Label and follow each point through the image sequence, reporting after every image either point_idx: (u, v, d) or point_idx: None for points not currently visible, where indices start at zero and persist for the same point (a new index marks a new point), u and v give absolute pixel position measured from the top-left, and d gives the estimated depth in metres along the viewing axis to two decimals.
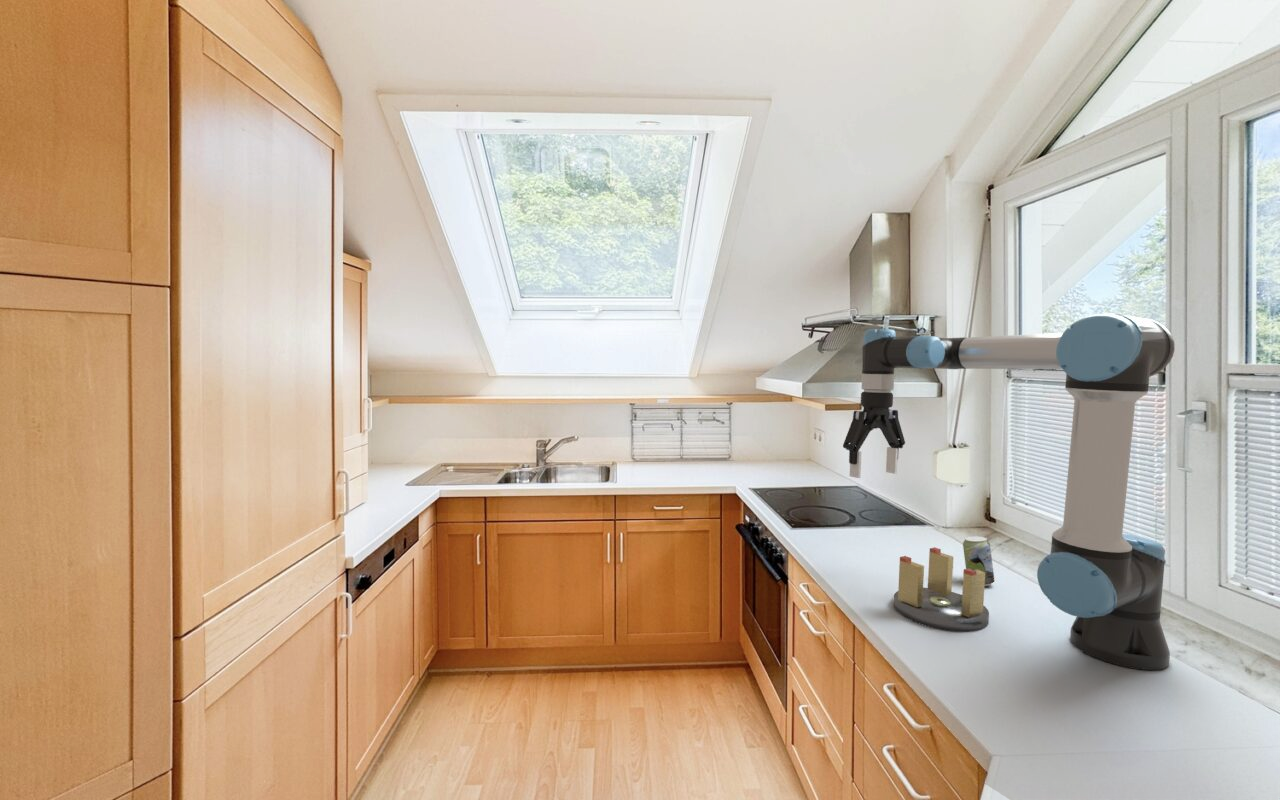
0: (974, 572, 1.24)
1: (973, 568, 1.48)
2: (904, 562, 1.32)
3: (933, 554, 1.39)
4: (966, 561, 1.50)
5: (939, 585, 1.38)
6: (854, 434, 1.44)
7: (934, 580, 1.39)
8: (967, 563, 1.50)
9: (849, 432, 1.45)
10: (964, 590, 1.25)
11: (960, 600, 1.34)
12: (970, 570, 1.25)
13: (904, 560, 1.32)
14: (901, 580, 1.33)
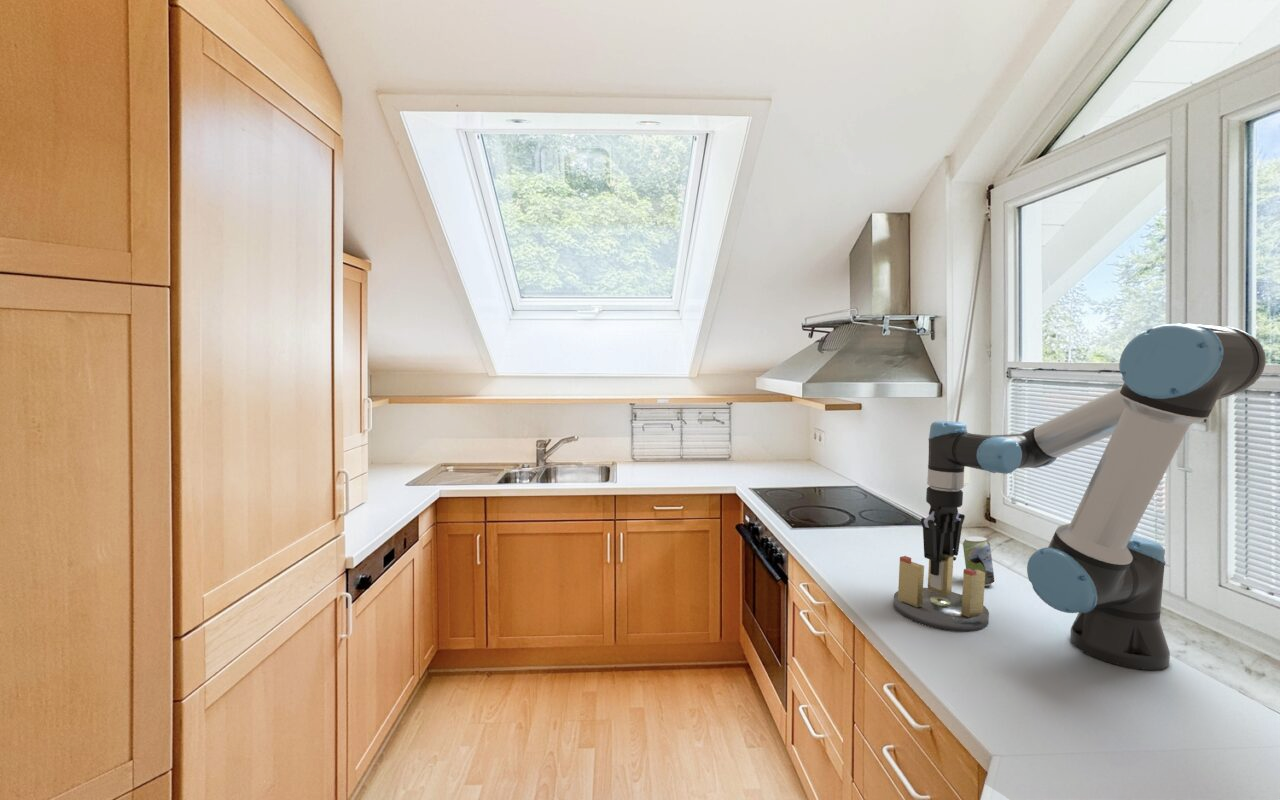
0: (974, 572, 1.24)
1: (973, 568, 1.48)
2: (904, 562, 1.32)
3: None
4: (966, 561, 1.50)
5: None
6: (932, 546, 1.35)
7: None
8: (967, 563, 1.50)
9: (925, 542, 1.36)
10: (964, 590, 1.25)
11: (960, 600, 1.34)
12: (970, 570, 1.25)
13: (904, 560, 1.32)
14: (901, 580, 1.33)
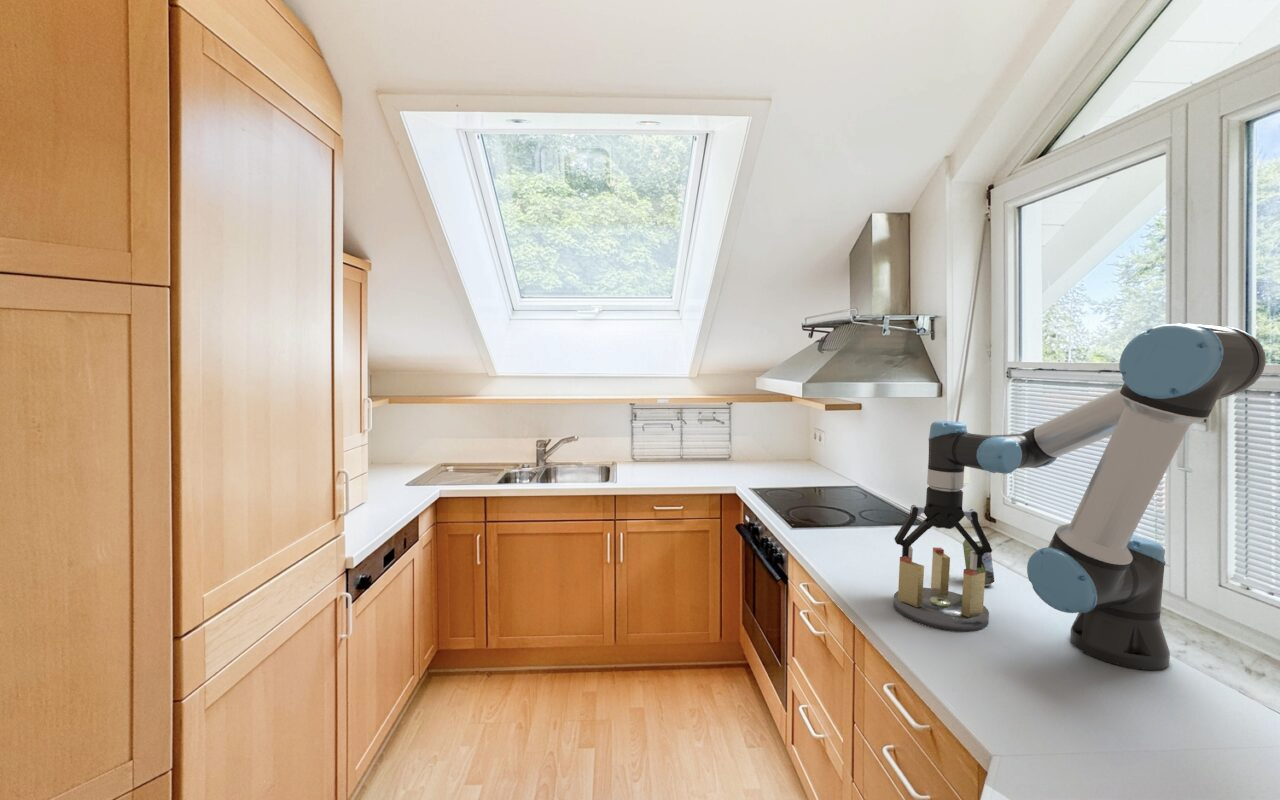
0: (974, 572, 1.24)
1: None
2: (904, 562, 1.32)
3: (934, 553, 1.40)
4: (966, 561, 1.50)
5: (936, 584, 1.38)
6: (902, 529, 1.39)
7: (934, 579, 1.39)
8: (967, 563, 1.50)
9: (902, 526, 1.41)
10: (964, 590, 1.25)
11: (960, 600, 1.34)
12: (970, 570, 1.25)
13: (904, 560, 1.32)
14: (901, 580, 1.33)
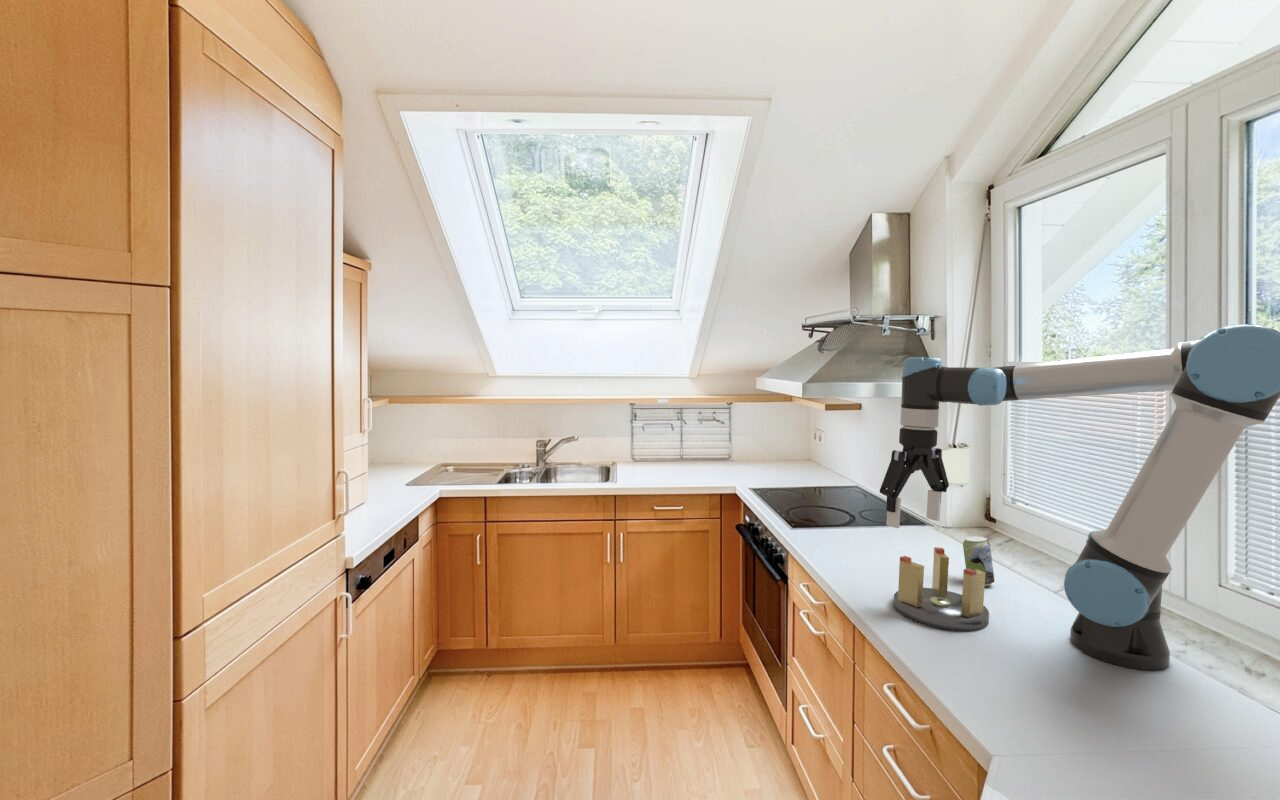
0: (974, 572, 1.24)
1: (973, 568, 1.48)
2: (904, 562, 1.32)
3: (935, 553, 1.40)
4: (966, 561, 1.50)
5: (936, 584, 1.38)
6: (893, 478, 1.25)
7: (934, 579, 1.39)
8: (967, 563, 1.50)
9: (887, 475, 1.27)
10: (964, 590, 1.25)
11: (960, 600, 1.34)
12: (970, 570, 1.25)
13: (904, 560, 1.32)
14: (901, 580, 1.33)
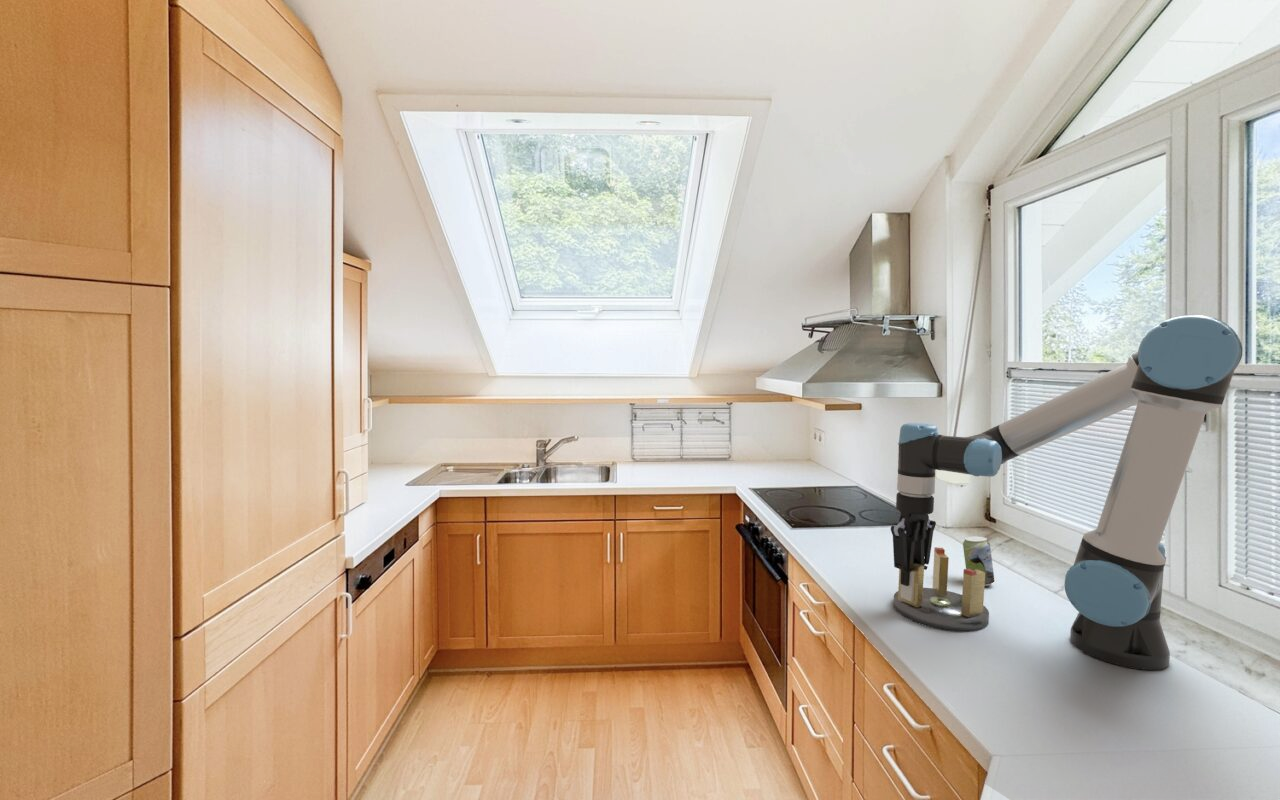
0: (974, 572, 1.24)
1: (973, 568, 1.48)
2: None
3: (935, 553, 1.40)
4: (966, 561, 1.50)
5: (936, 584, 1.38)
6: (902, 555, 1.28)
7: (934, 579, 1.39)
8: (967, 563, 1.50)
9: (895, 551, 1.29)
10: (964, 590, 1.25)
11: (960, 600, 1.34)
12: (970, 570, 1.25)
13: None
14: None
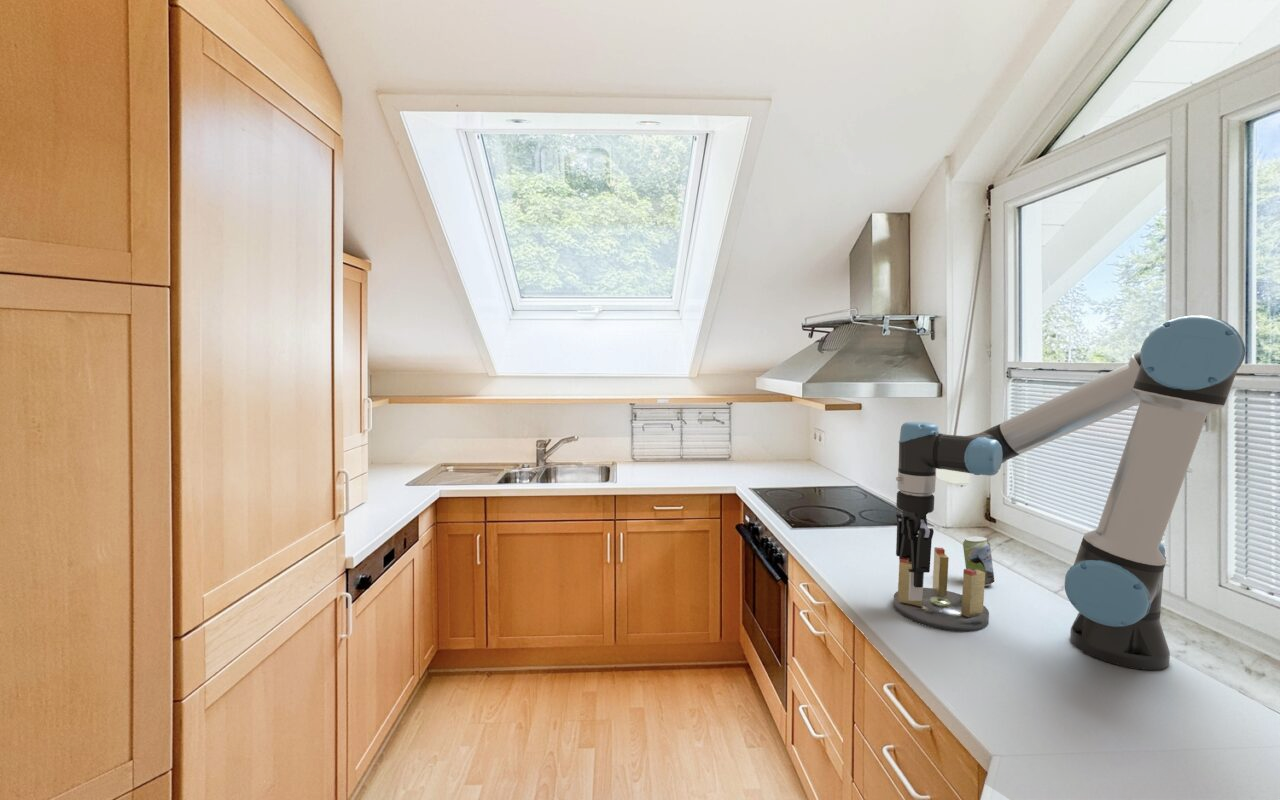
0: (974, 572, 1.24)
1: (973, 568, 1.48)
2: (905, 563, 1.31)
3: (935, 553, 1.40)
4: (966, 561, 1.50)
5: (936, 584, 1.38)
6: (929, 556, 1.25)
7: (934, 579, 1.39)
8: (967, 563, 1.50)
9: (921, 555, 1.25)
10: (964, 590, 1.25)
11: (960, 600, 1.34)
12: (970, 570, 1.25)
13: (905, 561, 1.31)
14: (901, 581, 1.32)
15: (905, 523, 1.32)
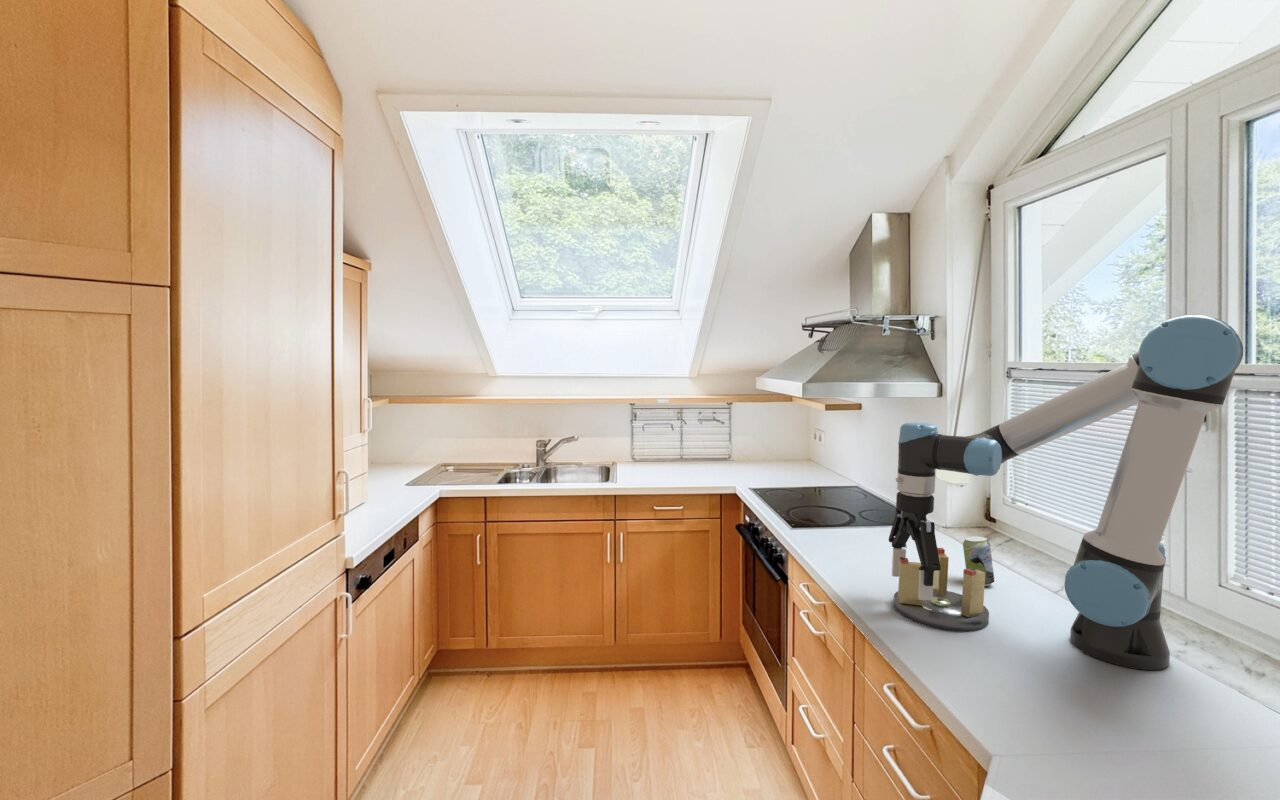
0: (974, 572, 1.24)
1: (973, 568, 1.48)
2: (906, 564, 1.31)
3: None
4: (966, 561, 1.50)
5: (936, 584, 1.38)
6: (936, 552, 1.22)
7: (934, 579, 1.39)
8: (967, 563, 1.50)
9: (928, 550, 1.22)
10: (964, 590, 1.25)
11: (960, 600, 1.34)
12: (970, 570, 1.25)
13: (906, 562, 1.31)
14: (902, 582, 1.31)
15: (904, 524, 1.32)
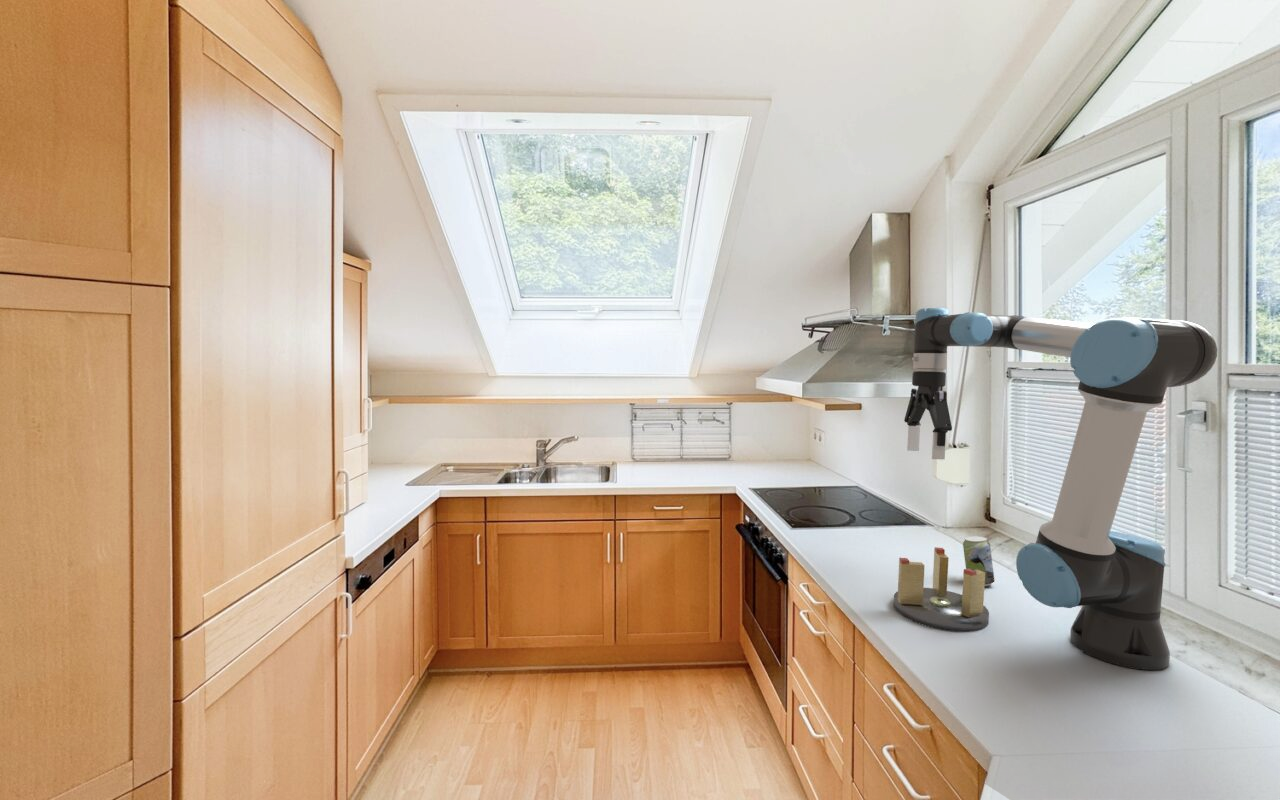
0: (974, 572, 1.24)
1: (973, 568, 1.48)
2: (907, 564, 1.31)
3: (935, 553, 1.40)
4: (966, 561, 1.50)
5: (936, 584, 1.38)
6: (948, 415, 1.40)
7: (934, 579, 1.39)
8: (967, 563, 1.50)
9: (941, 413, 1.40)
10: (964, 590, 1.25)
11: (960, 600, 1.34)
12: (970, 570, 1.25)
13: (907, 562, 1.31)
14: (904, 583, 1.31)
15: (919, 399, 1.50)
